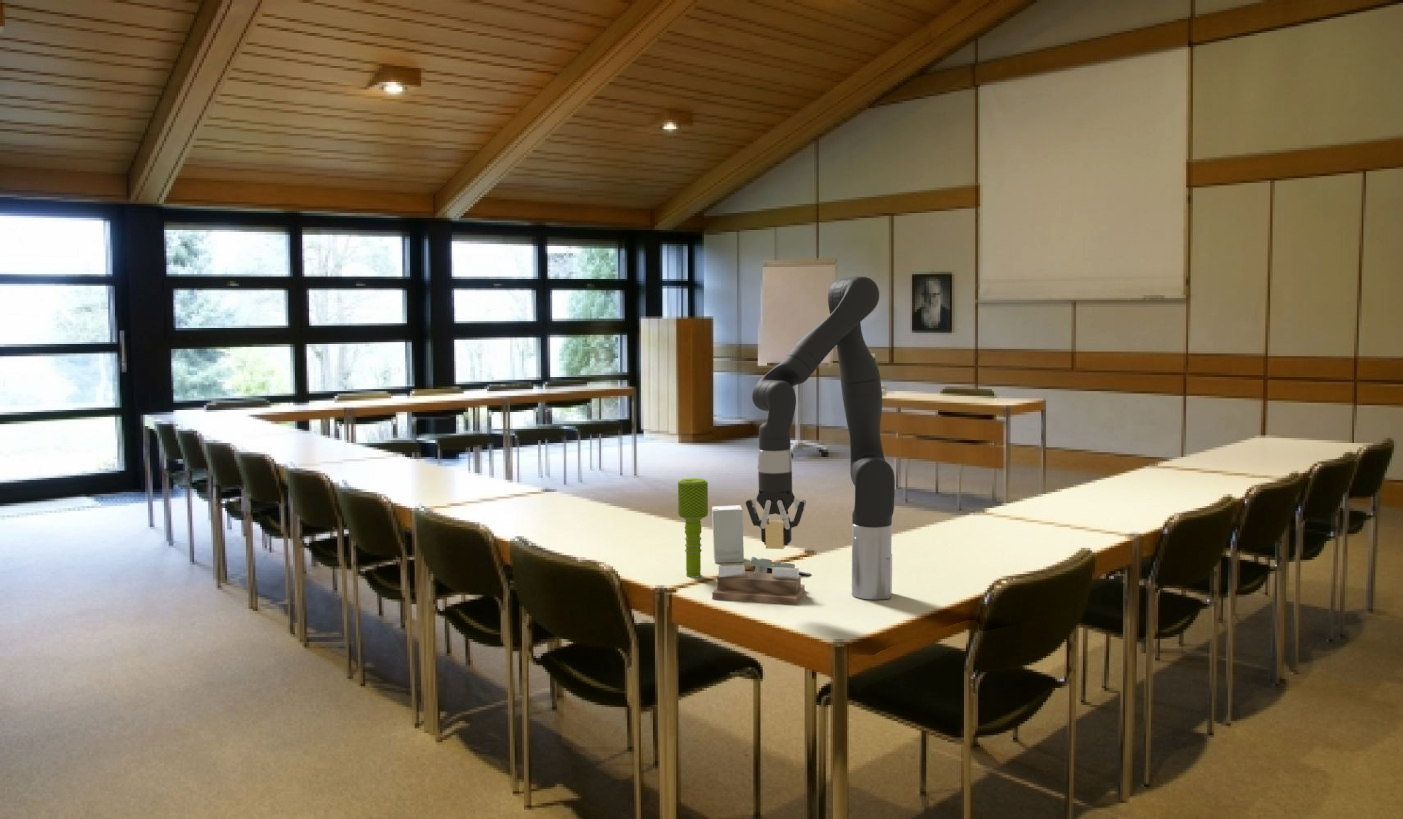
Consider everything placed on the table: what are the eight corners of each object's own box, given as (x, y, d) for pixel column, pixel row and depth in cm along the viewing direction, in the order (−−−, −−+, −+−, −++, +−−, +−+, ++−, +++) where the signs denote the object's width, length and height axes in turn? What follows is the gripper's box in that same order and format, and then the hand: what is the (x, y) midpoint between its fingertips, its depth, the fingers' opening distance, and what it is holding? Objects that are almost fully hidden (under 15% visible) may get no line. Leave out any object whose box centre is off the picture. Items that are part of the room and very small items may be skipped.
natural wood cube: (769, 543, 231) (769, 519, 230) (787, 544, 230) (786, 520, 229) (765, 548, 226) (765, 524, 225) (783, 549, 225) (783, 524, 224)
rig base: (804, 590, 245) (804, 572, 244) (796, 604, 233) (796, 585, 233) (724, 585, 250) (724, 567, 250) (712, 598, 238) (712, 580, 238)
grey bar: (798, 577, 240) (798, 568, 240) (795, 582, 236) (795, 572, 236) (720, 572, 245) (720, 563, 244) (716, 577, 241) (716, 568, 240)
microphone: (702, 580, 255) (701, 482, 253) (674, 577, 258) (673, 480, 255) (712, 572, 263) (712, 477, 260) (685, 570, 265) (684, 475, 263)
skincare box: (742, 557, 278) (742, 504, 277) (744, 563, 272) (744, 508, 271) (712, 558, 278) (711, 505, 277) (713, 563, 272) (712, 509, 271)
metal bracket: (784, 562, 250) (736, 553, 260) (780, 586, 249) (732, 576, 259) (815, 567, 261) (767, 559, 271) (811, 590, 260) (764, 580, 270)
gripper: (809, 467, 228) (810, 541, 230) (747, 466, 232) (748, 539, 233) (804, 472, 221) (805, 549, 222) (740, 471, 224) (742, 547, 226)
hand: (776, 544), depth 228 cm, fingers closed on natural wood cube, 4 cm apart
